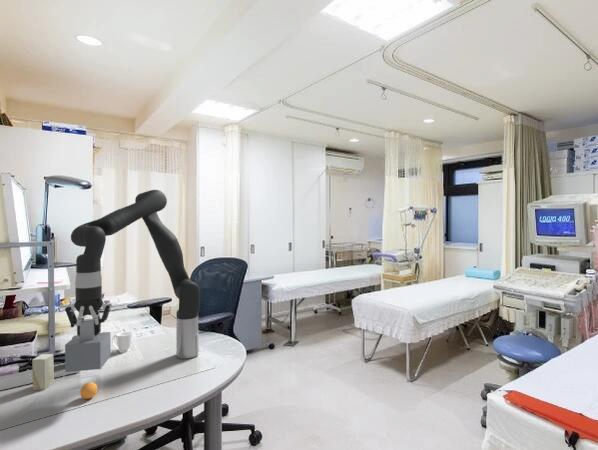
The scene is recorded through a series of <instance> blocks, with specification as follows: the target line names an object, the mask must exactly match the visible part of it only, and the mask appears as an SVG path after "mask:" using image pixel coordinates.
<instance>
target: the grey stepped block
mask: <svg viewBox="0 0 598 450" xmlns="http://www.w3.org/2000/svg"><path fill="white" fill-rule="evenodd" d="M94 325H95V322H94V319H93V318H84V320H83V321H81V322H80V337H79V335H78V334H76V335H74V336H75V337H74V336H73V337H74V338H73V339H72V338H71V340H69V341H68V342H67V343H66V344H64V363H65V364H64V370H65V371H64V373H71V372H82V371H92V370H93V371H95V370H101V369H102V368H103V367H104V366H105V365H106V363H107V362H108V360H109V359H110V358H111V354H112V353H111V332H110V331H107V332H106V331H105V332H100V333H99V334H98V335H96V336H95V334H94Z"/></svg>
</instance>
